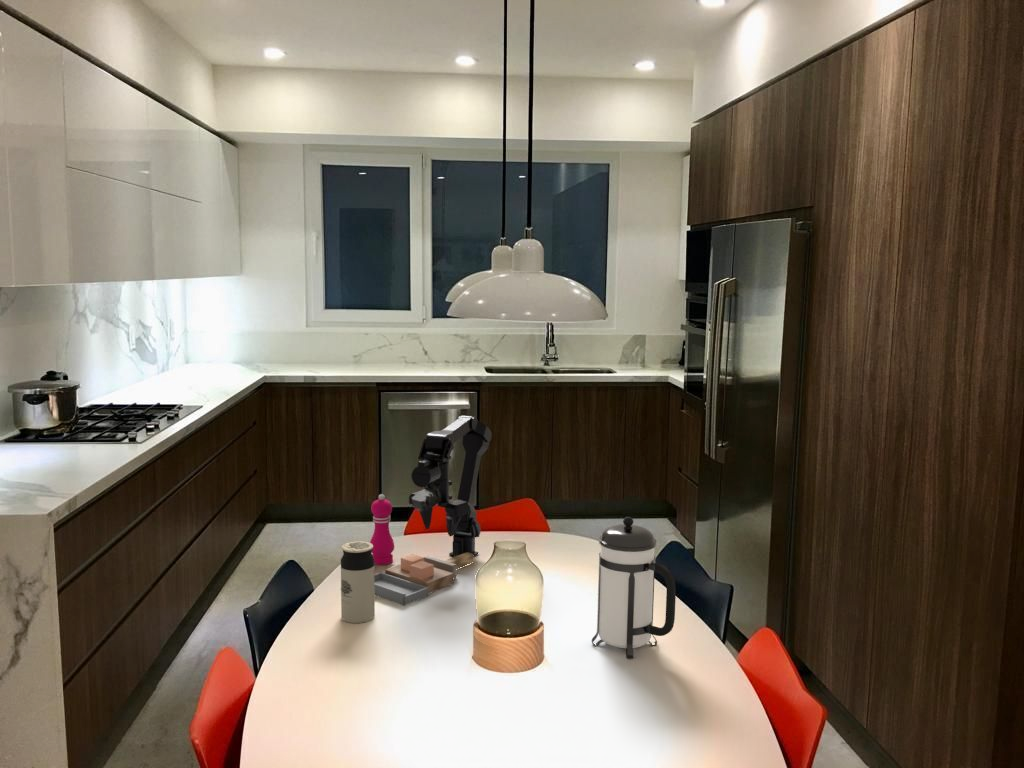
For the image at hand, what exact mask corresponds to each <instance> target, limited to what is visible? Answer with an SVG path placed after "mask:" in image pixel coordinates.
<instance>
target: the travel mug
mask: <svg viewBox="0 0 1024 768" xmlns="http://www.w3.org/2000/svg"><path fill="white" fill-rule="evenodd" d="M372 548H373V545H372V544H371V543H370V541H350V542H347V543H344V544H343V545H341V550H342V553H343V554H342V556H341V558H340V597H341V598H340V603H341V604H340V605H341V606H340V607H341V609H340V612H341V614H340V615H341V617H340V618H341V619H342V620H343V621H345V622H347V623H351V624H361V623H362V624H363V623H366V621H367V622H368V621H371V620H373V619H374V617H376V616H375V614H376V613H375V612H376V611H375V606H376V605H375V597H376V596H375V588H374V574H375V564H374V557H373V555H372V553H371V552H372Z"/></svg>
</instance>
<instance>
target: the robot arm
mask: <svg viewBox="0 0 1024 768" xmlns="http://www.w3.org/2000/svg"><path fill="white" fill-rule="evenodd" d="M492 435H493V434H492V431H491V429H490V428H489V427H488V426H487V424H484V423H483V422H481V421H479V420H478V418H477V417H475V416H473V415H459V416H458V417H457V419H456V420H454V421H453V422H452V423H450V424H448V426H446V427H445V428H443V429H442V430H436V431H431V432H428V433H427V434H426V435H425V437H424V438H423V442H422V445H421V448H420V451H419V454H418V456H417V459H418V460H419V461H418V463H417V466H416V467H414V468H413V470H412V471H411V474H410V475H411V480H412V483H413V484H414V485H415V486H417V487H418V488H423V489H421V490H418V491H416V492H412V493H410V494H409V497H408V504H409V505H411V506H412V507H413V508H414V509H416V510H417V511H418V513H419V514H420V517H421V520H422V522H423V526H424V527H425V530H430V527H431V523H432V517H433V516H432V515H433V509H434V507H436V506H437V507H441V508H444V511H445V514H444V516H445V517H446V519H445V526H446V529H447V534H448V536H449V537H452V551H451V552H449V553H448V554H449V556H452V557H455V556H458V555H461V554H464V553H466V552H468V553H472V554H473V555H475V556H477V555H476V554H478V553H479V552H478V551H475V549H476V538H480V535H481V531H482V529H481V525H480V523H479V522H478V520H477V511H476V508H475V506H474V499H475V494H476V488H477V482H478V481H477V480H478V475H479V470H480V465H481V460H482V456H483V455H484V454H485V453H486V451H487V450H488V449H489V445H490V442H491V441H492V437H493V436H492ZM460 439H461V445H462V448H463V450H464V452H465V455H464V458H463V459H464V460H463V465H462V470H461V474H460V475H461V476H460V481H459V486H458V492H457V498H456V500H454V501H450V500H453V495H451V494H450V486H452V485H453V480H450V460H451V459H452V456H451V454H452V451H453V450H454V449H455V444H456V443H457V442H458V440H460ZM478 555H479V554H478Z"/></svg>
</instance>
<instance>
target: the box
mask: <svg viewBox="0 0 1024 768" xmlns="http://www.w3.org/2000/svg"><path fill="white" fill-rule="evenodd" d="M374 588H375V595H376V596H375V597H378V596H379V598H381V599H383V600H384V599H385V600H386V599H387V600H386V601H390V602H393V603H395V604H398V605H401V606H403V607H405V606H406V605H409V604H412V603H414V602H417V601H420V600H421V599H423V598H426V597H428V596H429V597H430V593H429V587H426V586H423V585H419V584H416V583H413V582H410V581H407V580H404V579H401V578H398V577H395V576H392V575H389V574H386V573H385V572H382V571H380V572H377V573H374Z"/></svg>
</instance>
